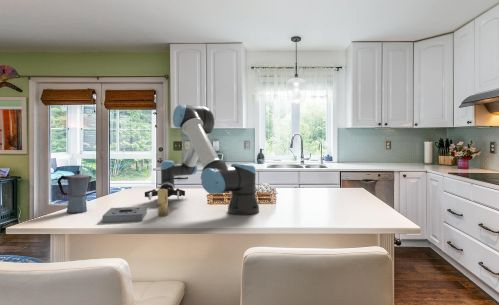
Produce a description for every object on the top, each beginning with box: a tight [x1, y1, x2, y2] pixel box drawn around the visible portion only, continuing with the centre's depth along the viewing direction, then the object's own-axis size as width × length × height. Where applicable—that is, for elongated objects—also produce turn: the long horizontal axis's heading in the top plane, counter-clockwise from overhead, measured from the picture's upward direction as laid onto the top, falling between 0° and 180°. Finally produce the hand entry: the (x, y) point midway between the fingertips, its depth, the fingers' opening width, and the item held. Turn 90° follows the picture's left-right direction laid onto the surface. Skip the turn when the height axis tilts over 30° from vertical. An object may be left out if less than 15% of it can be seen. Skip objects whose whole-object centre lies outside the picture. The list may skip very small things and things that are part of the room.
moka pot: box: [57, 170, 93, 214], centre depth 155 cm, size 10×15×20 cm, turn 137°
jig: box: [102, 206, 148, 224], centre depth 144 cm, size 16×16×3 cm
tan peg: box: [157, 188, 169, 217], centre depth 148 cm, size 4×4×12 cm
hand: (164, 196), depth 157 cm, fingers open, 13 cm apart
